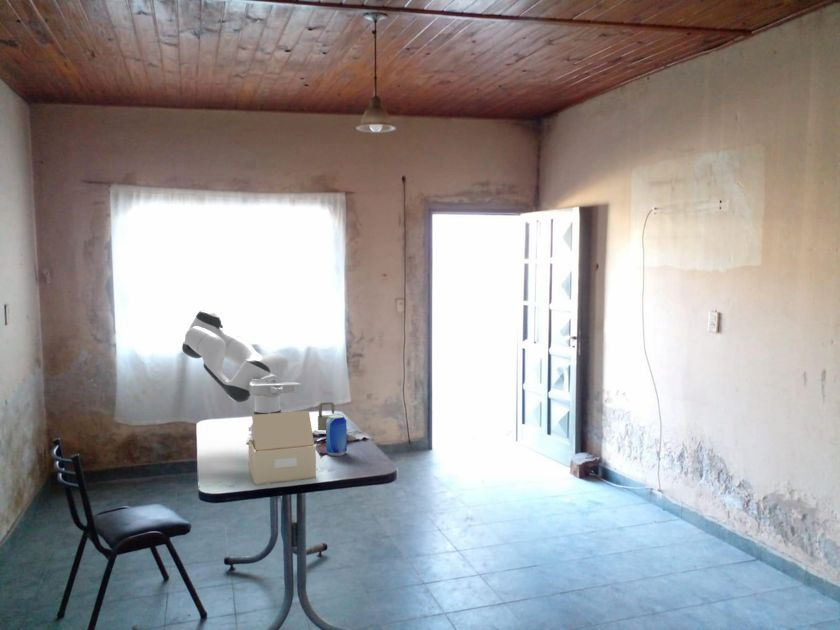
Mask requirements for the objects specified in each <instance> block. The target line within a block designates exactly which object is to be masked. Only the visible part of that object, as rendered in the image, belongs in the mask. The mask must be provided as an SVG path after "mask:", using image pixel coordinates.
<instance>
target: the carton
mask: <svg viewBox="0 0 840 630" xmlns="http://www.w3.org/2000/svg"><path fill="white" fill-rule="evenodd" d="M316 449H317V447H316V445H315V444H314V445H308V446H298V447H287V448H277V449H267V450H257V451H256V448H255V440H249V444H248V471H249V474H250V476H251V478H252V480H253V481H252V482H253V483H255V484H254V486H257V485H256V484H261V485H267V483H270V484H276V483H277V484H279V483H284V482H285V483H286V482H294V481H301V480H302V481H303V480H311V479H317V466H316V465H317V463H316V462H317V460H316V458H317V455H316Z"/></svg>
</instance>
